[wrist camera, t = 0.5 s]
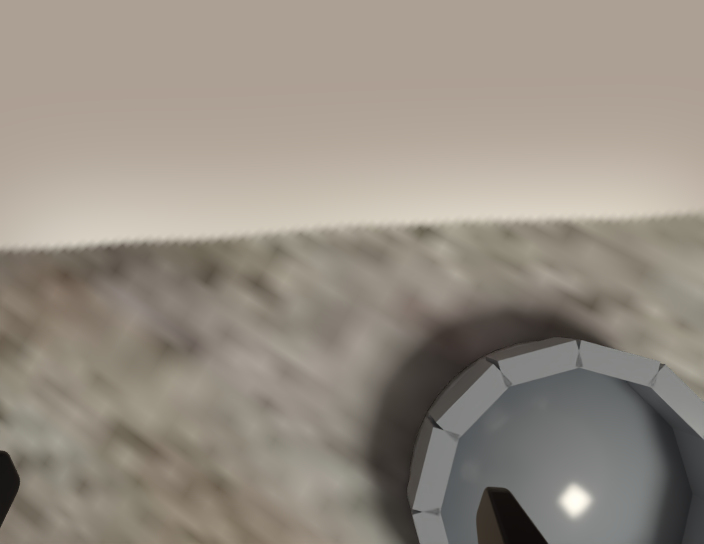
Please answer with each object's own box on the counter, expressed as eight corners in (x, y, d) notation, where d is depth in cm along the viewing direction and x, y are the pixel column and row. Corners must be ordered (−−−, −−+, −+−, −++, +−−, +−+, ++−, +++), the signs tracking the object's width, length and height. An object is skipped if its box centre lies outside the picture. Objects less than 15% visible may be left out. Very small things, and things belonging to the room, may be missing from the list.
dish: (735, 592, 23) (792, 635, 20) (453, 671, 23) (468, 728, 20) (648, 308, 24) (691, 308, 21) (376, 381, 24) (380, 392, 21)
